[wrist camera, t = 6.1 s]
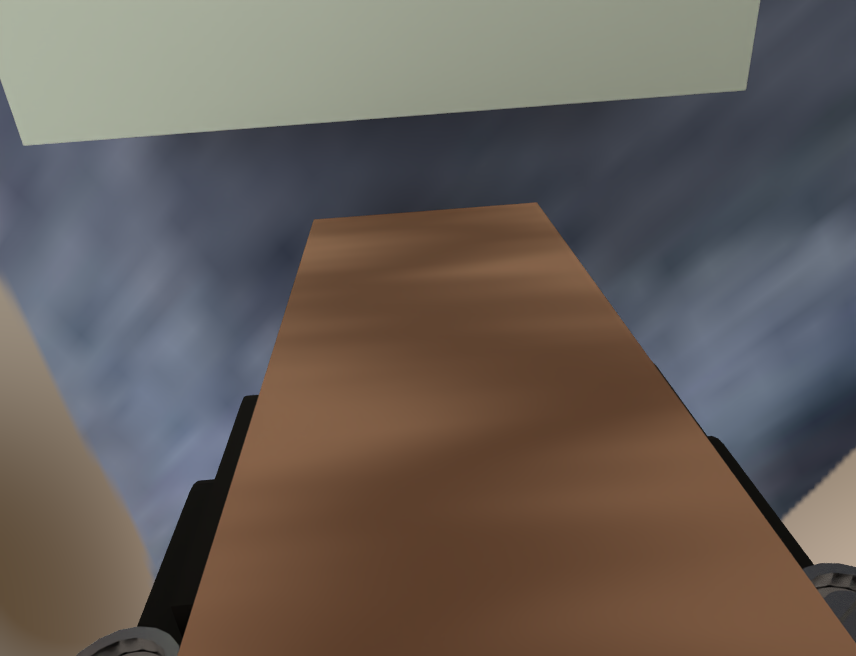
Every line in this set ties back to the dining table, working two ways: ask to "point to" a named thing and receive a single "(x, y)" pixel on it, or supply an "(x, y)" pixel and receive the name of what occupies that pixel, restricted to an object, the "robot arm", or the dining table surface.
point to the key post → (483, 470)
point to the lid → (349, 59)
